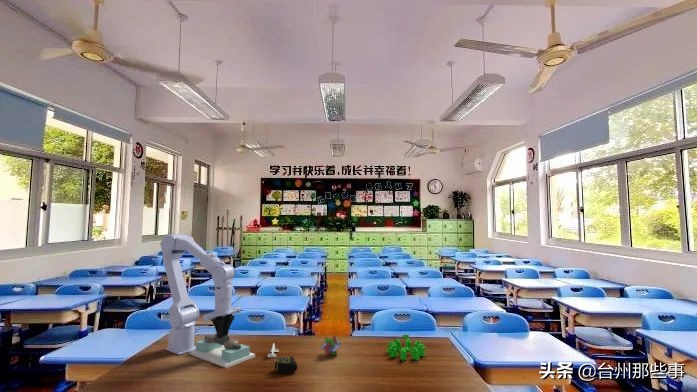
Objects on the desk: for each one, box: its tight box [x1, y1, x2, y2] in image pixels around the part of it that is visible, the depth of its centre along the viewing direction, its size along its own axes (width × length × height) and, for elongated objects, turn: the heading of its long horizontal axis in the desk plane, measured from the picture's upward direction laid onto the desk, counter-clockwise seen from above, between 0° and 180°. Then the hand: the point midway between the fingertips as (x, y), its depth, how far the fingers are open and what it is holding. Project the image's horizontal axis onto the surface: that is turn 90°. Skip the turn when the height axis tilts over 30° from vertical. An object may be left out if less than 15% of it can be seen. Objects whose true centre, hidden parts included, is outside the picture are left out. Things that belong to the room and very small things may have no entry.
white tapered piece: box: [267, 342, 280, 358], centre depth 125 cm, size 15×7×4 cm, turn 1°
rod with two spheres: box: [204, 333, 241, 350], centre depth 129 cm, size 20×5×3 cm, turn 54°
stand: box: [189, 338, 256, 369], centre depth 129 cm, size 22×12×4 cm, turn 54°
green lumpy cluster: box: [385, 334, 428, 362], centre depth 129 cm, size 15×15×7 cm
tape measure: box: [274, 355, 298, 374], centre depth 115 cm, size 7×7×4 cm
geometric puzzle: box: [320, 335, 342, 358], centre depth 129 cm, size 7×7×8 cm
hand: (222, 336), depth 129 cm, fingers closed on rod with two spheres, 2 cm apart
